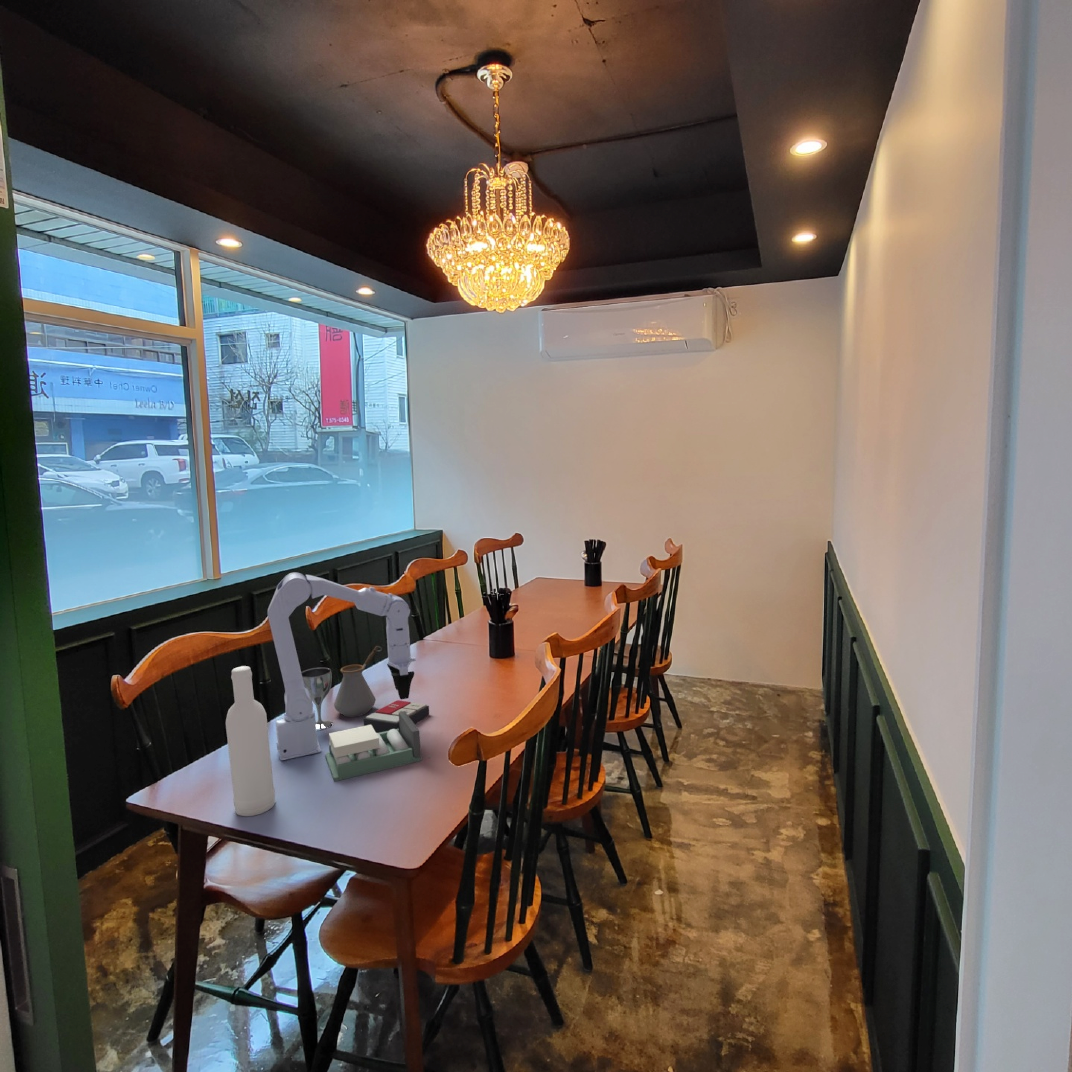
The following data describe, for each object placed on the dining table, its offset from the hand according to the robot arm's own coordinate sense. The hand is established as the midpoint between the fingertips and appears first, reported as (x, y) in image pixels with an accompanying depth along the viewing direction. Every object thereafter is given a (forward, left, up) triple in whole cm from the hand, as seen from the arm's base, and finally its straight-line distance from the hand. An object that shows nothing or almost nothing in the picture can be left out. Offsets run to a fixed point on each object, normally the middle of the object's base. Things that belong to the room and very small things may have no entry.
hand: (402, 693), depth 176 cm
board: (-15, -13, -6) cm, 20 cm away
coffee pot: (-6, +24, -10) cm, 27 cm away
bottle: (-37, -23, -10) cm, 45 cm away
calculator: (0, +6, -11) cm, 12 cm away
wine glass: (-19, +15, -10) cm, 27 cm away
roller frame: (-11, -13, -10) cm, 20 cm away
